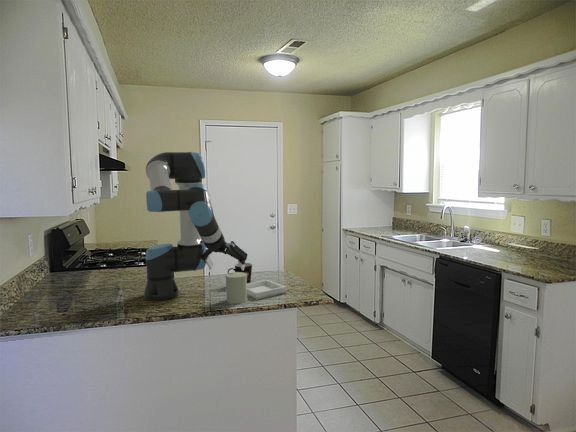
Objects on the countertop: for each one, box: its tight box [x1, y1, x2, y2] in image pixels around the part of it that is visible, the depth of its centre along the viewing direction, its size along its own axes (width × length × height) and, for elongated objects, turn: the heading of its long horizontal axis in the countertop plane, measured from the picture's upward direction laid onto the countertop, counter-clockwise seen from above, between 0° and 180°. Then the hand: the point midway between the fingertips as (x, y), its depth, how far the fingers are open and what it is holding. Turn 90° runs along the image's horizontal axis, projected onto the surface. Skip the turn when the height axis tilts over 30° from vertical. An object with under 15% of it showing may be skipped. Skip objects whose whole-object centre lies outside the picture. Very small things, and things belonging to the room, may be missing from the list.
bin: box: [247, 279, 287, 301], centre depth 189 cm, size 16×16×3 cm
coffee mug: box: [227, 262, 253, 283], centre depth 202 cm, size 12×9×10 cm
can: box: [225, 271, 248, 305], centre depth 177 cm, size 9×9×12 cm
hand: (227, 267), depth 165 cm, fingers open, 13 cm apart
